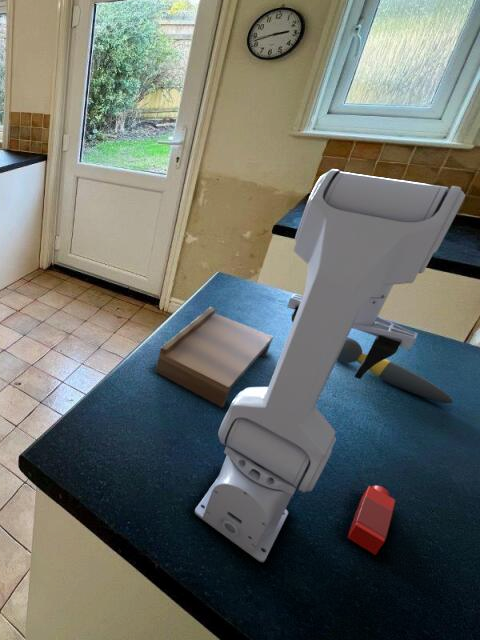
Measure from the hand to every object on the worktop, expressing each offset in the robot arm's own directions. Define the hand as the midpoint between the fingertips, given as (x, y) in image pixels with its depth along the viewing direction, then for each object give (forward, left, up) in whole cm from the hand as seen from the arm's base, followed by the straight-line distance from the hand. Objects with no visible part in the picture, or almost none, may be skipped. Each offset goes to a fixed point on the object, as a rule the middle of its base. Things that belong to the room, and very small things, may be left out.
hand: (327, 362), depth 66 cm
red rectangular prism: (-17, -11, -10) cm, 23 cm away
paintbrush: (+21, -6, -10) cm, 24 cm away
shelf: (+1, +15, -10) cm, 18 cm away
